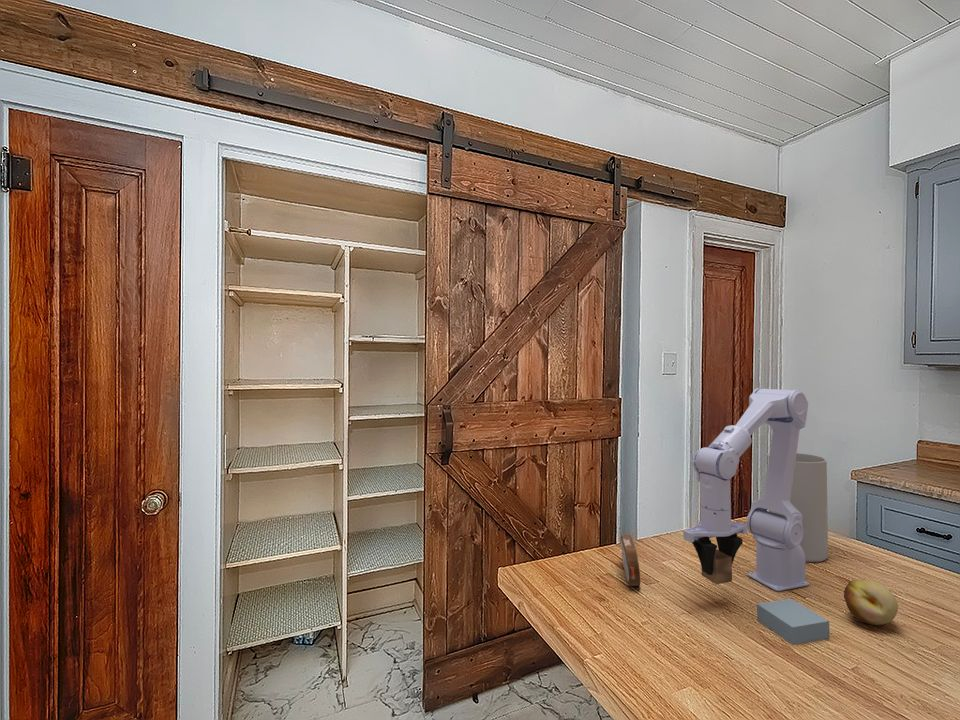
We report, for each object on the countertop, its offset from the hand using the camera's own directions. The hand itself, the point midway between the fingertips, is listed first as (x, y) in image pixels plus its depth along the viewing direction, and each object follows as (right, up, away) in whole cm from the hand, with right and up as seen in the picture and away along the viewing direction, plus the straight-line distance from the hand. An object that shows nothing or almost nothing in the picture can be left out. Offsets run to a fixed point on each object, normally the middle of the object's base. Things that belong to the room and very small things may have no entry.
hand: (716, 571), depth 95 cm
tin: (-14, -8, +13) cm, 20 cm away
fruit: (+26, -7, -7) cm, 28 cm away
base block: (+10, -7, -9) cm, 15 cm away
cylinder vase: (+34, -7, +24) cm, 42 cm away
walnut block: (0, -2, 0) cm, 2 cm away
